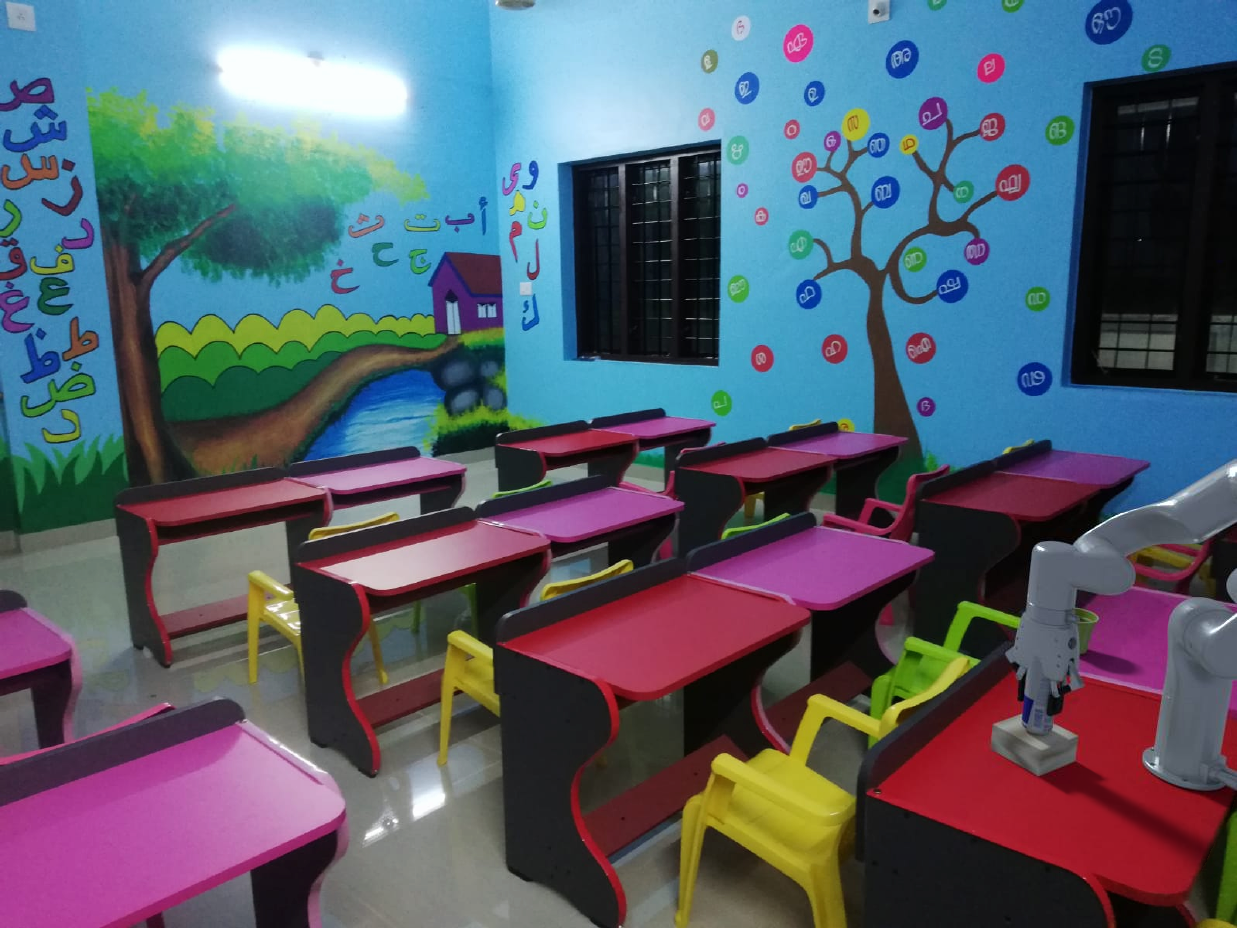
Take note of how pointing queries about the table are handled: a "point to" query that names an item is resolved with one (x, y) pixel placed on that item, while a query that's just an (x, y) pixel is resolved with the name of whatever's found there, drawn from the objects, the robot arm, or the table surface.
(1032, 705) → the beverage can
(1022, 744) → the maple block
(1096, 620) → the plant pot
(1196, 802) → the table surface
